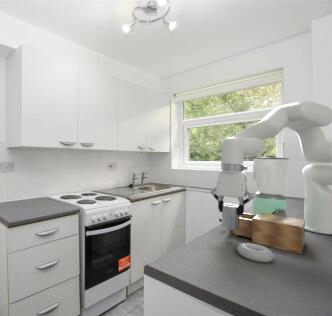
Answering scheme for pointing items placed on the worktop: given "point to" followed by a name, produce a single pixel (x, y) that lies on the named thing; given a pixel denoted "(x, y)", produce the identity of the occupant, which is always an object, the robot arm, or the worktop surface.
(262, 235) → the cabinet
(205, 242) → the worktop surface
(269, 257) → the donut
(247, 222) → the drawer
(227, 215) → the measuring cup
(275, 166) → the juicer
